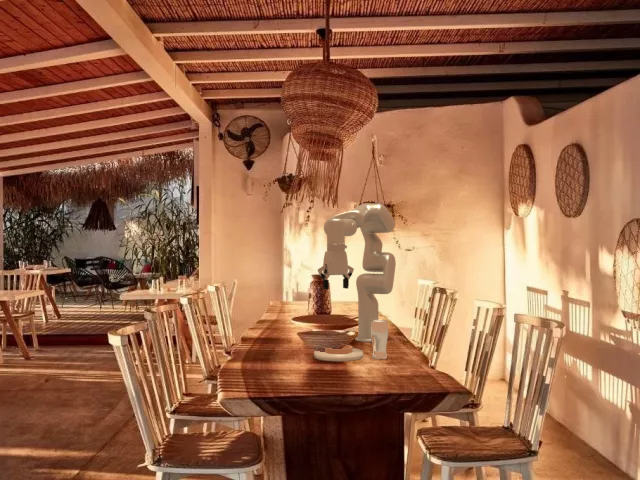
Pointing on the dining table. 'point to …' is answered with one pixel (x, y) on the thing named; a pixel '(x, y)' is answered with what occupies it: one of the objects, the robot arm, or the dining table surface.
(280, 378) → the dining table surface
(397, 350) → the dining table surface
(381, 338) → the beer glass
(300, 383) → the dining table surface
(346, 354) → the white plate
